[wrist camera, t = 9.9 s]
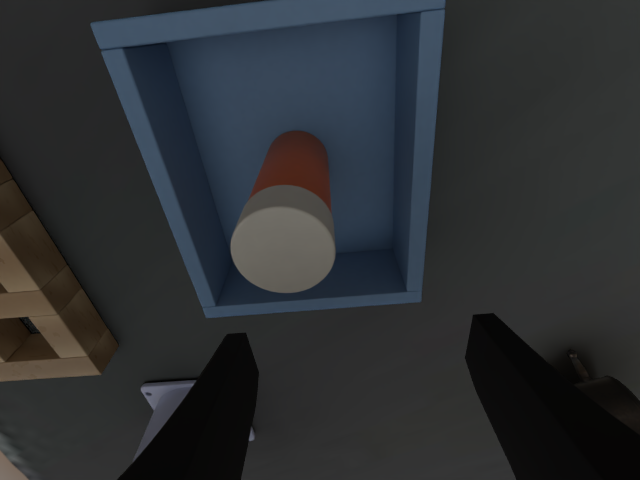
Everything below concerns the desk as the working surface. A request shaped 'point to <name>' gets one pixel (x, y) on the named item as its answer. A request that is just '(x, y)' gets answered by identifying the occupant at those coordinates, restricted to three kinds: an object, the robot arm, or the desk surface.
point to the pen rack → (42, 301)
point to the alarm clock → (609, 395)
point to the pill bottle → (287, 218)
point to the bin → (283, 116)
